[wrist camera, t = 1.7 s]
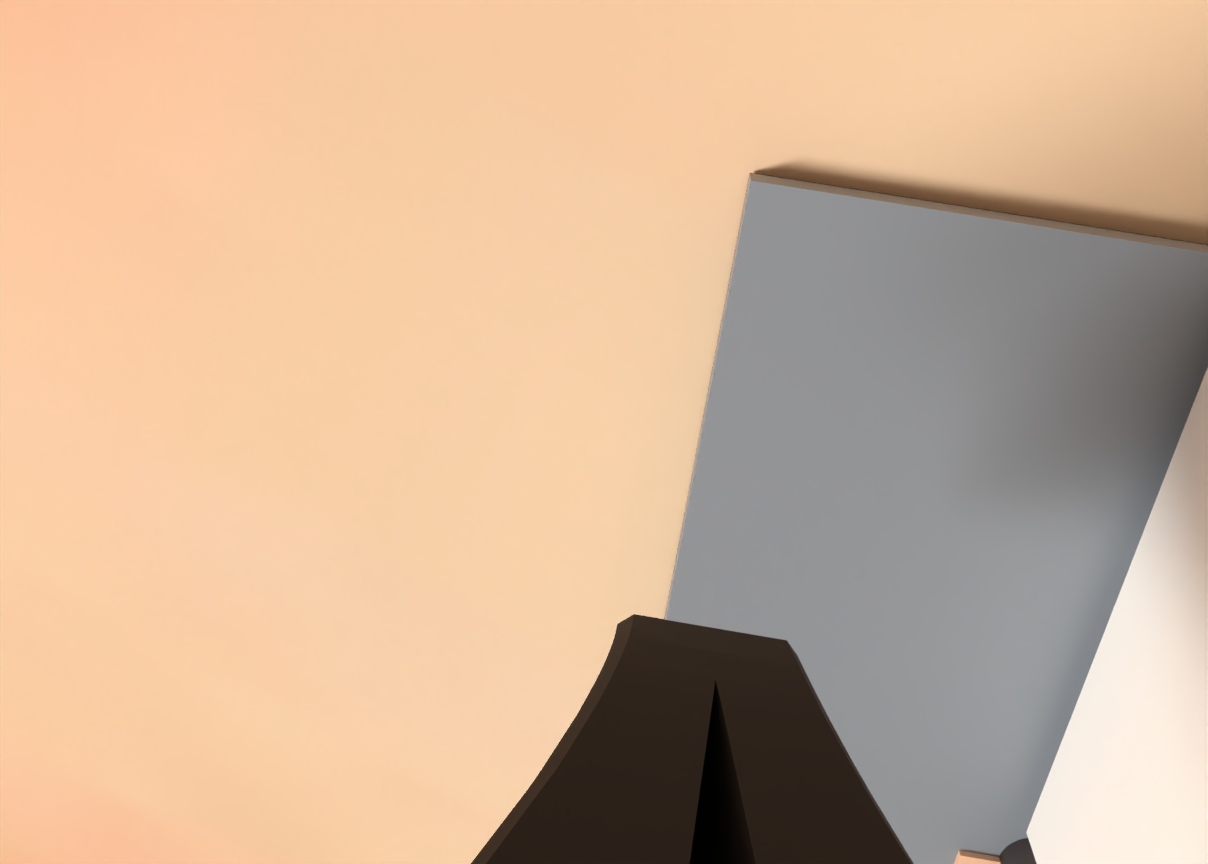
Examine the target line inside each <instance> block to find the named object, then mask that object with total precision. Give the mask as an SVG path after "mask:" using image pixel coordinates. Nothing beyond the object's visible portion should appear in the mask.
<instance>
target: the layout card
mask: <svg viewBox="0 0 1208 864" xmlns="http://www.w3.org/2000/svg"><path fill="white" fill-rule="evenodd" d="M1207 367H1208V245H1203V244H1197V243H1191V242H1184V241H1178V240H1172V239H1165V238H1159V237H1153V236H1146V235H1140V234H1134V233H1127V232H1121V231H1115V230H1108V229H1102V228H1096V227H1089V226H1083V225H1077V224H1070V223H1064V222H1058V221H1051V220H1045V219H1039V218H1032V217H1026V216H1020V215H1013V214H1007V213H1001V212H994V211H988V210H982V209H975V208H969V207H963V206H956V205H950V204H944V203H938V202H931V201H925V200H919V199H912V198H906V197H900V196H893V195H887V194H881V193H874V192H868V191H862V190H855V189H849V188H843V187H836V186H830V185H824V184H817V183H811V182H805V181H798V180H792V179H786V178H779V177H773V176H767V175H760V174H754V173H750V175H749V180H748V185H747V190H746V196H745V201H744V206H743V211H742V216H741V222H740V227H739V232H738V237H737V243H736V248H735V253H734V258H733V263H732V269H731V274H730V279H729V284H728V289H727V295H726V300H725V305H724V310H723V316H722V321H721V326H720V331H719V336H718V342H717V347H716V352H715V357H714V363H713V368H712V373H711V378H710V383H709V389H708V394H707V399H706V404H705V409H704V415H703V420H702V425H701V430H700V436H699V441H698V446H697V451H696V456H695V462H694V467H693V472H692V477H691V483H690V488H689V493H688V498H687V503H686V509H685V514H684V519H683V524H682V529H681V535H680V540H679V545H678V550H677V556H676V561H675V566H674V571H673V576H672V582H671V587H670V592H669V597H668V603H667V608H666V613H665V618H664V620H670V621H676V622H682V623H688V624H694V625H700V626H705V627H711V628H717V629H723V630H729V631H735V632H741V633H747V634H753V635H758V636H764V637H770V638H776V639H782V640H787V641H788V643H789V644H790V645H791V647H792V648H793V650H794V651H795V653H796V654H797V656H798V658H799V660H800V662H801V664H802V666H803V668H804V670H805V672H806V674H807V676H808V678H809V680H810V682H811V684H812V686H813V688H814V690H815V692H816V694H817V696H818V698H819V700H820V702H821V704H822V706H823V708H824V709H825V711H826V713H827V715H828V717H829V719H830V721H831V723H832V725H833V727H834V728H835V730H836V732H837V734H838V736H839V738H840V739H841V741H842V743H843V745H844V747H845V749H846V750H847V752H848V754H849V756H850V758H851V759H852V761H853V763H854V765H855V767H856V768H857V770H858V772H859V774H860V775H861V777H862V779H863V781H864V782H865V784H866V786H867V788H868V789H869V791H870V793H871V794H872V796H873V798H874V799H875V801H876V803H877V804H878V806H879V807H880V809H881V811H882V812H883V814H884V816H885V817H886V819H887V821H888V822H889V824H890V826H891V827H892V829H893V830H894V832H895V834H896V835H897V837H898V839H899V840H900V842H901V844H902V845H903V847H904V849H905V850H906V852H907V853H908V855H909V857H910V858H911V860H912V861H913V863H914V864H1000V863H1001V862H1000V858H999V856H1000V854H1001V852H1002V851H1003V850H1004V849H1005V848H1006V847H1007V846H1008V845H1010V844H1011V843H1013V842H1015V841H1017V840H1020V839H1024V838H1028V836H1027V833H1026V832H1027V829H1028V826H1029V824H1030V821H1031V819H1032V816H1033V814H1034V811H1035V808H1036V806H1037V803H1038V801H1039V798H1040V796H1041V793H1042V791H1043V788H1044V785H1045V783H1046V780H1047V778H1048V775H1049V773H1050V770H1051V767H1052V765H1053V762H1054V760H1055V757H1056V755H1057V752H1058V749H1059V747H1060V744H1061V742H1062V739H1063V737H1064V734H1065V732H1066V729H1067V726H1068V724H1069V721H1070V719H1071V716H1072V714H1073V711H1074V708H1075V706H1076V703H1077V701H1078V698H1079V696H1080V693H1081V691H1082V688H1083V685H1084V683H1085V680H1086V678H1087V675H1088V673H1089V670H1090V667H1091V665H1092V662H1093V660H1094V657H1095V655H1096V652H1097V649H1098V647H1099V644H1100V642H1101V639H1102V637H1103V634H1104V632H1105V629H1106V626H1107V624H1108V621H1109V619H1110V616H1111V614H1112V611H1113V608H1114V606H1115V603H1116V601H1117V598H1118V596H1119V593H1120V591H1121V588H1122V585H1123V583H1124V580H1125V578H1126V575H1127V573H1128V570H1129V567H1130V565H1131V562H1132V560H1133V557H1134V555H1135V552H1136V549H1137V547H1138V544H1139V542H1140V539H1141V537H1142V534H1143V532H1144V529H1145V526H1146V524H1147V521H1148V519H1149V516H1150V514H1151V511H1152V508H1153V506H1154V503H1155V501H1156V498H1157V496H1158V493H1159V491H1160V488H1161V485H1162V483H1163V480H1164V478H1165V475H1166V473H1167V470H1168V467H1169V465H1170V462H1171V460H1172V457H1173V455H1174V452H1175V449H1176V447H1177V444H1178V442H1179V439H1180V437H1181V434H1182V432H1183V429H1184V426H1185V424H1186V421H1187V419H1188V416H1189V414H1190V411H1191V408H1192V406H1193V403H1194V401H1195V398H1196V396H1197V393H1198V391H1199V388H1200V385H1201V383H1202V380H1203V378H1204V375H1205V373H1206V370H1207Z"/></svg>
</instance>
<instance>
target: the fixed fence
mask: <svg viewBox="0 0 1208 864" xmlns="http://www.w3.org/2000/svg"><path fill="white" fill-rule="evenodd" d="M999 858H1000V862H1001V863H1000V864H1037V863H1036V860H1035V857H1034V854H1033V851H1032V848H1031V845H1030V842H1029V839H1028V838H1024V839H1020V840H1017V841H1015V842H1013V843H1011V844H1010V845H1008V846H1007V847H1006V848H1005V849H1004V850H1003V851H1002V852H1001V854H1000V856H999Z"/></svg>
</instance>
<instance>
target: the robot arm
mask: <svg viewBox="0 0 1208 864" xmlns="http://www.w3.org/2000/svg"><path fill="white" fill-rule="evenodd" d="M471 864H914V863H913V861H912V860H911V858H910V857H909V855H908V853H907V852H906V850H905V849H904V847H903V845H902V844H901V842H900V840H899V839H898V837H897V835H896V834H895V832H894V830H893V829H892V827H891V826H890V824H889V822H888V821H887V819H886V817H885V816H884V814H883V812H882V811H881V809H880V807H879V806H878V804H877V803H876V801H875V799H874V798H873V796H872V794H871V793H870V791H869V789H868V788H867V786H866V784H865V782H864V781H863V779H862V777H861V775H860V774H859V772H858V770H857V768H856V767H855V765H854V763H853V761H852V759H851V758H850V756H849V754H848V752H847V750H846V749H845V747H844V745H843V743H842V741H841V739H840V738H839V736H838V734H837V732H836V730H835V728H834V727H833V725H832V723H831V721H830V719H829V717H828V715H827V713H826V711H825V709H824V708H823V706H822V704H821V702H820V700H819V698H818V696H817V694H816V692H815V690H814V688H813V686H812V684H811V682H810V680H809V678H808V676H807V674H806V672H805V670H804V668H803V666H802V664H801V662H800V660H799V658H798V656H797V654H796V653H795V651H794V650H793V648H792V647H791V645H790V644H789V643H788V641H787V640H782V639H776V638H770V637H764V636H758V635H753V634H747V633H741V632H735V631H729V630H723V629H717V628H711V627H705V626H700V625H694V624H688V623H682V622H676V621H670V620H664V619H658V618H652V617H647V616H641V615H635V614H634V615H632V616H631V617H629V618H627V619H625V620H624V621H622V622H620V623H619V624H618V625H617V629H616V634H615V638H614V641H613V644H612V646H611V649H610V652H609V654H608V657H607V659H606V661H605V663H604V666H603V668H602V670H601V672H600V674H599V676H598V678H597V680H596V682H595V684H594V686H593V687H592V689H591V691H590V693H589V695H588V696H587V698H586V700H585V702H584V704H583V705H582V707H581V709H580V711H579V713H578V714H577V716H576V718H575V719H574V721H573V722H572V724H571V725H570V727H569V728H568V730H567V731H566V733H565V735H564V736H563V738H562V739H561V741H560V742H559V744H558V745H557V747H556V748H555V750H554V752H553V753H552V755H551V756H550V758H549V759H548V761H547V762H546V764H545V765H544V767H543V768H542V770H541V772H540V773H539V775H538V776H537V777H536V779H535V780H534V782H533V783H532V784H531V786H530V787H529V789H528V790H527V791H526V793H525V794H524V795H523V797H522V798H521V799H520V801H519V802H518V803H517V804H516V806H515V807H514V808H513V810H512V811H511V812H510V814H509V815H508V816H507V818H506V819H505V820H504V821H503V823H502V824H501V825H500V827H499V828H498V829H497V831H496V832H495V833H494V834H493V836H492V837H491V838H490V840H489V841H488V842H487V844H486V845H485V846H484V847H483V849H482V850H481V851H480V853H479V854H478V855H477V857H476V858H475V859H474V860H473V862H472V863H471Z"/></svg>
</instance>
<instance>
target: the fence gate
mask: <svg viewBox="0 0 1208 864" xmlns="http://www.w3.org/2000/svg"><path fill="white" fill-rule="evenodd" d="M1026 833H1027V836H1028V839H1029V842H1030V845H1031V848H1032V851H1033V854H1034V857H1035V860H1036V863H1037V864H1208V367H1207V370H1206V373H1205V375H1204V378H1203V380H1202V383H1201V385H1200V388H1199V391H1198V393H1197V396H1196V398H1195V401H1194V403H1193V406H1192V408H1191V411H1190V414H1189V416H1188V419H1187V421H1186V424H1185V426H1184V429H1183V432H1182V434H1181V437H1180V439H1179V442H1178V444H1177V447H1176V449H1175V452H1174V455H1173V457H1172V460H1171V462H1170V465H1169V467H1168V470H1167V473H1166V475H1165V478H1164V480H1163V483H1162V485H1161V488H1160V491H1159V493H1158V496H1157V498H1156V501H1155V503H1154V506H1153V508H1152V511H1151V514H1150V516H1149V519H1148V521H1147V524H1146V526H1145V529H1144V532H1143V534H1142V537H1141V539H1140V542H1139V544H1138V547H1137V549H1136V552H1135V555H1134V557H1133V560H1132V562H1131V565H1130V567H1129V570H1128V573H1127V575H1126V578H1125V580H1124V583H1123V585H1122V588H1121V591H1120V593H1119V596H1118V598H1117V601H1116V603H1115V606H1114V608H1113V611H1112V614H1111V616H1110V619H1109V621H1108V624H1107V626H1106V629H1105V632H1104V634H1103V637H1102V639H1101V642H1100V644H1099V647H1098V649H1097V652H1096V655H1095V657H1094V660H1093V662H1092V665H1091V667H1090V670H1089V673H1088V675H1087V678H1086V680H1085V683H1084V685H1083V688H1082V691H1081V693H1080V696H1079V698H1078V701H1077V703H1076V706H1075V708H1074V711H1073V714H1072V716H1071V719H1070V721H1069V724H1068V726H1067V729H1066V732H1065V734H1064V737H1063V739H1062V742H1061V744H1060V747H1059V749H1058V752H1057V755H1056V757H1055V760H1054V762H1053V765H1052V767H1051V770H1050V773H1049V775H1048V778H1047V780H1046V783H1045V785H1044V788H1043V791H1042V793H1041V796H1040V798H1039V801H1038V803H1037V806H1036V808H1035V811H1034V814H1033V816H1032V819H1031V821H1030V824H1029V826H1028V829H1027V832H1026Z"/></svg>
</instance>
